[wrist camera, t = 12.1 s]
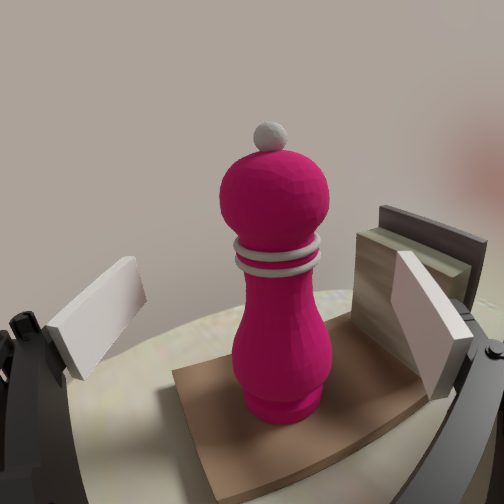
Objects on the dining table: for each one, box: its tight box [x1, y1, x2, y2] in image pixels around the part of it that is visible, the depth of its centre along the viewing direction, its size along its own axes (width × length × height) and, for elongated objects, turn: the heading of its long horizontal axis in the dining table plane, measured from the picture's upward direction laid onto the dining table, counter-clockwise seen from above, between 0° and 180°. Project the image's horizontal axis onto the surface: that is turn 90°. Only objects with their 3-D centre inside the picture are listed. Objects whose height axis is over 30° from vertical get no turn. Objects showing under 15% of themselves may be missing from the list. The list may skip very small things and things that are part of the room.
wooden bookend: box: [172, 205, 487, 504], centre depth 22 cm, size 24×14×14 cm, turn 113°
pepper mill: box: [219, 122, 332, 425], centre depth 19 cm, size 7×7×20 cm
